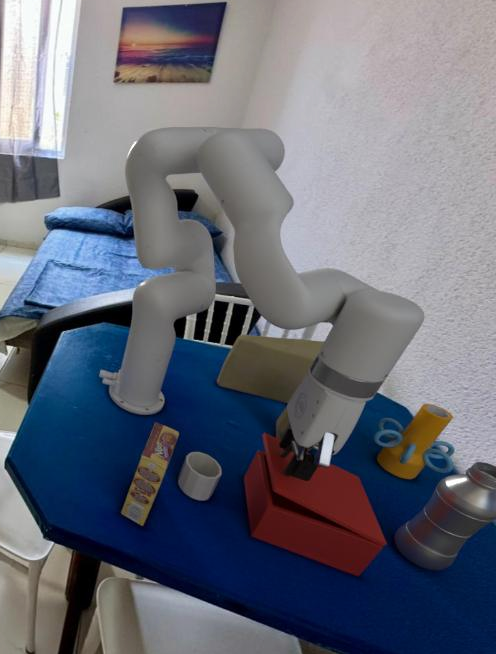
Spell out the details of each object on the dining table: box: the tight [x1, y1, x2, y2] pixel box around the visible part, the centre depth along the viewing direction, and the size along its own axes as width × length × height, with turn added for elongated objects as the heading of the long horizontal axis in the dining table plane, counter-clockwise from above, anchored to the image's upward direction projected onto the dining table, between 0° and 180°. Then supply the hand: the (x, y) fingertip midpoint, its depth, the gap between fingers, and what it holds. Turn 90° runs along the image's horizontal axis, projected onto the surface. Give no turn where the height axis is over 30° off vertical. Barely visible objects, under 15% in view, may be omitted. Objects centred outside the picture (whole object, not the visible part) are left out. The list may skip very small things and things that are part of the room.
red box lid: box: [261, 432, 388, 547], centre depth 64 cm, size 15×13×5 cm
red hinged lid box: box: [243, 449, 384, 577], centre depth 69 cm, size 15×13×8 cm
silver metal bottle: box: [393, 461, 496, 571], centre depth 61 cm, size 6×7×20 cm
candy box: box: [120, 422, 180, 527], centre depth 69 cm, size 9×4×15 cm, turn 145°
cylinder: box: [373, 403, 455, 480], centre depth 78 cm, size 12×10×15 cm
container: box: [177, 451, 223, 501], centre depth 75 cm, size 6×6×6 cm
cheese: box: [216, 334, 325, 404], centre depth 97 cm, size 22×10×15 cm, turn 75°
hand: (293, 461), depth 66 cm, fingers closed on red box lid, 5 cm apart
